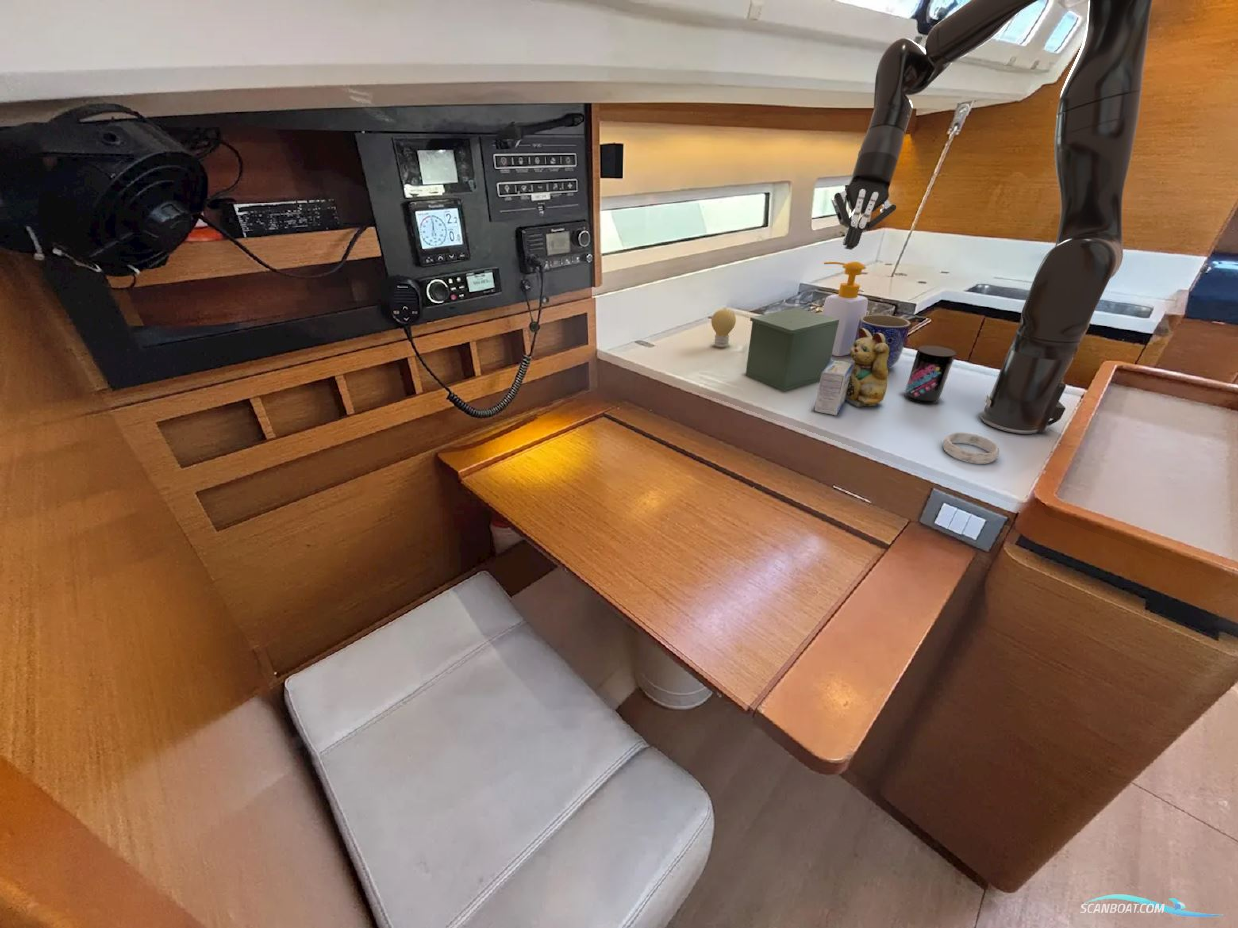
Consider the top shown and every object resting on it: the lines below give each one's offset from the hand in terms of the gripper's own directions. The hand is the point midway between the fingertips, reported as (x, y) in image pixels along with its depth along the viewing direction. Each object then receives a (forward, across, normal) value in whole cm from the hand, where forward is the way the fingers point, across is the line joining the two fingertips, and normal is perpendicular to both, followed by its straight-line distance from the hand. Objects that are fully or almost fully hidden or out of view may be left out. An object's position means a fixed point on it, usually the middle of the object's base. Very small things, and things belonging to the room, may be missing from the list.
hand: (849, 248), depth 103 cm
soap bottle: (+17, +10, +30) cm, 35 cm away
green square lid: (+16, -6, +3) cm, 18 cm away
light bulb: (+23, -18, +28) cm, 41 cm away
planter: (+20, +18, +18) cm, 32 cm away
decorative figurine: (+30, +12, -3) cm, 32 cm away
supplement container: (+26, +24, 0) cm, 35 cm away
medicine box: (+32, +4, -6) cm, 33 cm away
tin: (+28, -3, +8) cm, 29 cm away
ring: (+34, +25, -22) cm, 48 cm away
